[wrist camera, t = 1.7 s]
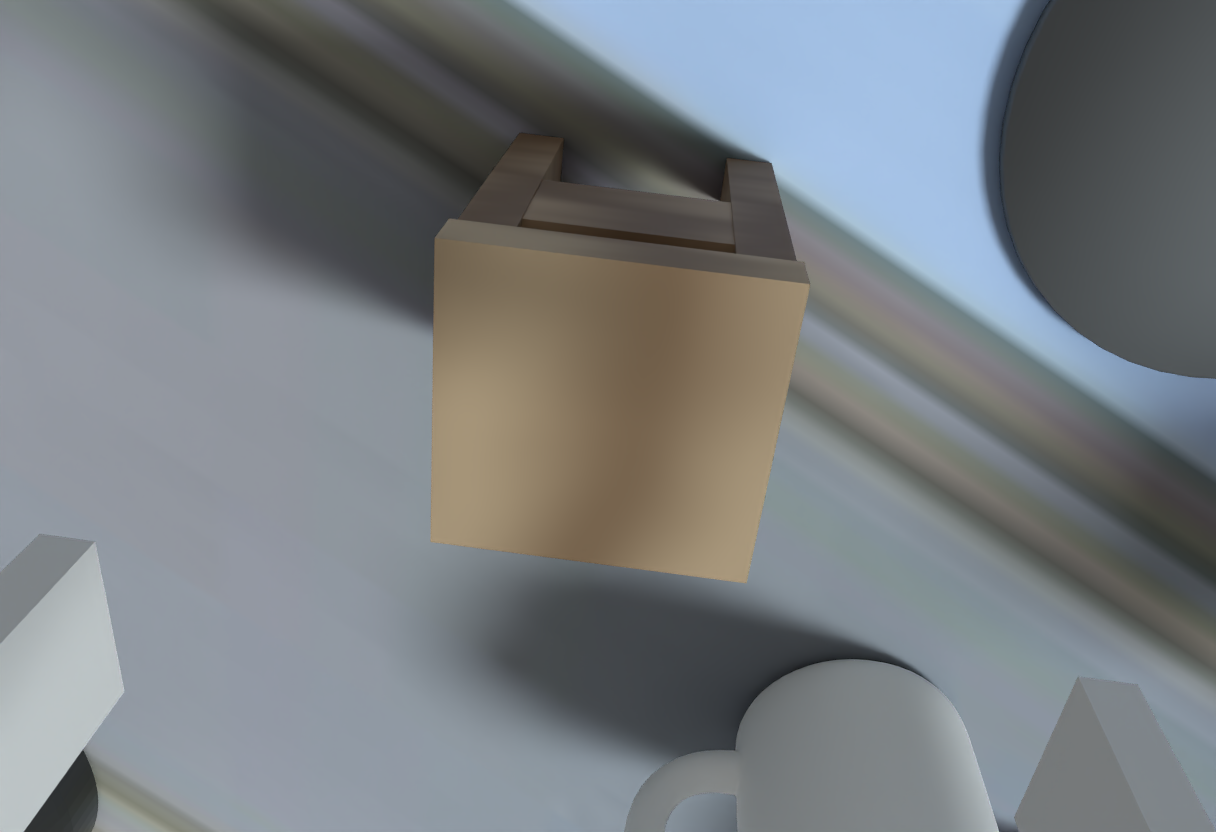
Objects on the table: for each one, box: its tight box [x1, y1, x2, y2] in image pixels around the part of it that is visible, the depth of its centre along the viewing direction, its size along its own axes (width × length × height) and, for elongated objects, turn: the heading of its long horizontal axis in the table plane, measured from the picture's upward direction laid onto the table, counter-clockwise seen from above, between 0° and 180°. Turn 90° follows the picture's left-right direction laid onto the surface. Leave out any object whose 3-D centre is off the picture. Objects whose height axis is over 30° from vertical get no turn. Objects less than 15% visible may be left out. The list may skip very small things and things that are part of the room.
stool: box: [431, 133, 810, 583], centre depth 24 cm, size 7×7×9 cm
